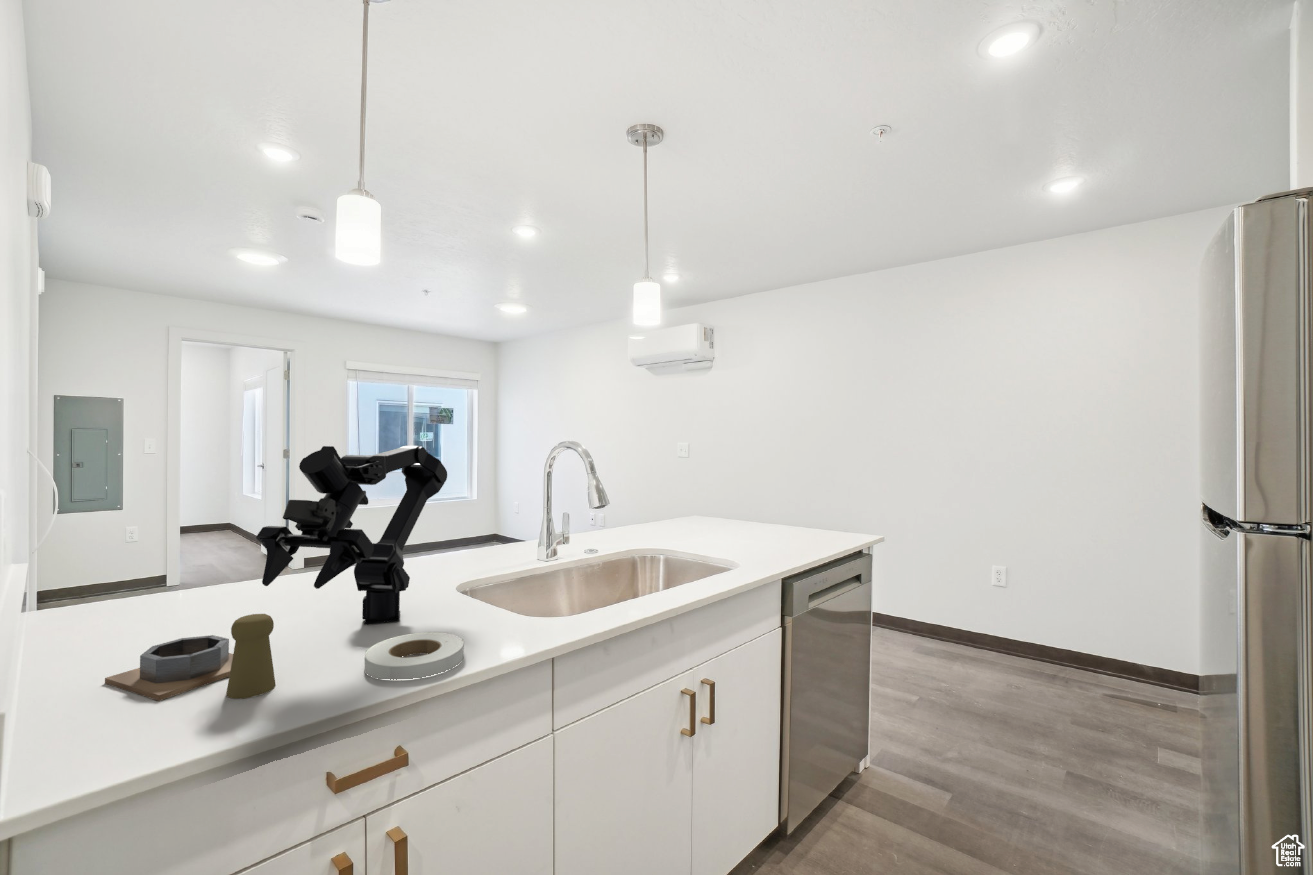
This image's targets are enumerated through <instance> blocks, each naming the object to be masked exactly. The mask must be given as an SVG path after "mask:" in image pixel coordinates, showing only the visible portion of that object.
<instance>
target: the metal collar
mask: <svg viewBox="0 0 1313 875" xmlns="http://www.w3.org/2000/svg"><path fill="white" fill-rule="evenodd" d="M229 646H230V638H227V637H222V636H218V635H213V634H212V635H201V636H192V637H191V636H190V637H181V638H177V639H174V640H169V641H167V642H163V643H159V644H156V645H152V646H150V647H149V648H148V649H147V650H146V651H144V652H143V653H142V654H141V655H140V656H139V668H140V679H142V680H146V681H149V682H152V683H155V684H157V683H165V682H174V681H182V680H190V679H193V678H196V677H199V676H202V675H205V674H208V673H211V672H214V671H217V670H220V669H221V668H222V667H223V666H224V665H225V663H226V662H227V661H228V657H229V653H230V652H229V649H230V648H229Z"/></svg>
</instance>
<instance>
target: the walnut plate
mask: <svg viewBox="0 0 1313 875" xmlns="http://www.w3.org/2000/svg"><path fill="white" fill-rule="evenodd" d="M232 659H233V653H232V652H231V653H230V652H229V657H228V661H227V662H226V663H225V665H224V666H223V667H222V668H221V669H220V670H217V671H214V672H211V673H208V674H205V675H202V676H199V677H196V678H193V679H190V680H182V681H174V682H165V683H157V684H155V683H152V682H149V681H146V680H142V679H140V667H138V668H134V669H131V670H127V671H124V672H120V673H116V674H113V675H110V676H106V677H105V678H104V684H105V685H109V686H112V687H115V688H118V689H122V690H124V691H128V692H131V693H134V694H137V695H140V696H142V697H143V696H144V697H146V698H149V699H152V700H155V701H158V702H160V701H163V700H165V699H168V698H172V697H175V696H176V695H180V694H182V693H186V692H189V691H191V690H194V689H198V688H200V687H203V686H206V685H209V684H212V683H214V682H217V681H220V680H223V679H226V678H229V675H230V670H231V664H232Z"/></svg>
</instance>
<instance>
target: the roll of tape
mask: <svg viewBox="0 0 1313 875" xmlns="http://www.w3.org/2000/svg"><path fill="white" fill-rule="evenodd" d="M464 642H465V641H464V639H463V638H460V637H459V636H457V635H455V634H452V633H445V632H435V631H434V632H431V631H430V632H417V633H409V634H408V633H407V634H402V635H398V636H393V637H391V638H387V639H384V640H381V641H379V642H377V643H375V644H374V645H372V646H370V647H369V648H368V649H367V650H366V652H365V653H364V673H365V672H366V673H365V674H366V675H367V674H368V675H369V677H370V676H372V677H373V679H375V678H378V679H390V680H391V679H393V680H394V679H396V680H397V679H413V678H422V677H426V676H431V675H434V674H438V673H441V672H445V671H446V670H449V669H452V668H453V667H455V666H456V665H458V664H459V663H460V662H461V661H462V659H463V660H464V653H465V652H464V651H465V650H464V649H465V648H464V646H465V643H464ZM420 653H428V654H422V655H421V654H420ZM410 654H413V655H417V656H411V655H410ZM407 655H408V656H409V657H407ZM418 655H419V656H418ZM402 656H404V657H402ZM410 656H411V657H410ZM462 662H463V661H462ZM462 662H461V663H462ZM461 663H460V664H461ZM460 664H459V665H460ZM459 665H458V666H459ZM455 668H456V667H455ZM452 670H453V669H452ZM445 673H446V672H445ZM368 675H367V676H368ZM372 677H371V678H372ZM378 679H377V680H378Z"/></svg>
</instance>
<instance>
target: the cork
mask: <svg viewBox="0 0 1313 875" xmlns="http://www.w3.org/2000/svg"><path fill="white" fill-rule="evenodd" d="M274 625H275V624H274V620H273V618H272V616H271V615H269V614H266V613H255V614H254V613H253V614H248V615H244V616H240V617H238V618H237V619H235V620H234V622H233V623H232V624H231V628H230V633H231V637H232V639H233V640H234V641H235V643H234V648H233V652H232V654H233V659H232V664H231V670H230V675H229V677H228V683H227V688H226V697H227V698H230V699H235V700H237V699H239V700H240V699H249V698H253V697H259V696H260V695H265V694H266V693H268V692H271V691H272V690H273V689H275V687H276V686H277V685H276V679H275V670H274V663H273V656H272V649H271V642H270V641H271V640H270V635H271V634H272V633H273V630H274Z"/></svg>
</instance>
